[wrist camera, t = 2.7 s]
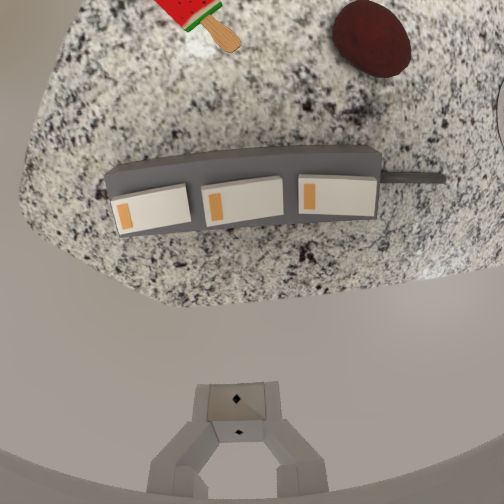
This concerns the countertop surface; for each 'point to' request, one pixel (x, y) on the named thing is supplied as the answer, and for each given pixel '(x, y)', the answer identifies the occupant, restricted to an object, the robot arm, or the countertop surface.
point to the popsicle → (201, 19)
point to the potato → (372, 39)
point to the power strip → (254, 166)
